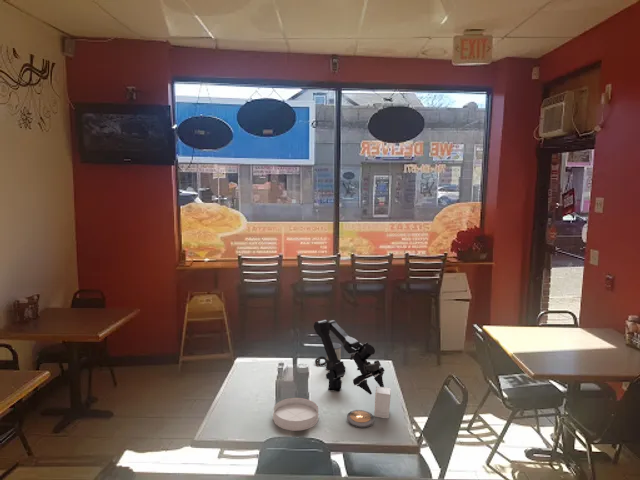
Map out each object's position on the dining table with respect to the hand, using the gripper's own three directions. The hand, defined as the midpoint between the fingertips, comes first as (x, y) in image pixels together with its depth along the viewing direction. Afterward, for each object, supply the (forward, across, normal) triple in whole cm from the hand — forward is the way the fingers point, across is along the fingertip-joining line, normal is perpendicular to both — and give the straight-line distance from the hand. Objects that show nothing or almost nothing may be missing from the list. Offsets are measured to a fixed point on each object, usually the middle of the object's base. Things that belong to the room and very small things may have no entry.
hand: (377, 391), depth 230 cm
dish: (-7, -36, +22) cm, 43 cm away
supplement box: (+10, 0, +5) cm, 11 cm away
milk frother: (-31, +16, +45) cm, 57 cm away
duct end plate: (+8, -13, +7) cm, 17 cm away
